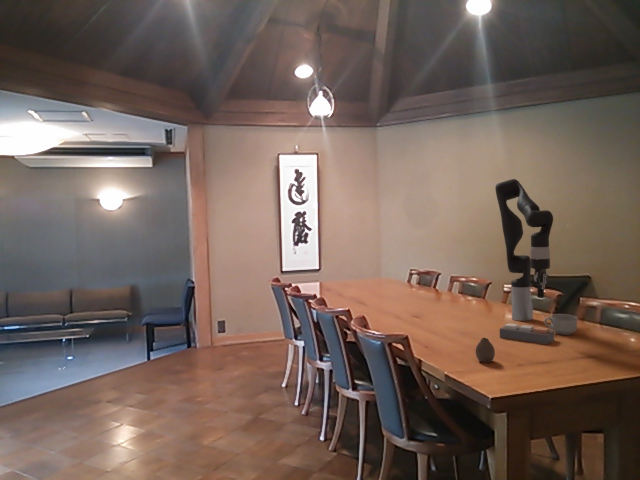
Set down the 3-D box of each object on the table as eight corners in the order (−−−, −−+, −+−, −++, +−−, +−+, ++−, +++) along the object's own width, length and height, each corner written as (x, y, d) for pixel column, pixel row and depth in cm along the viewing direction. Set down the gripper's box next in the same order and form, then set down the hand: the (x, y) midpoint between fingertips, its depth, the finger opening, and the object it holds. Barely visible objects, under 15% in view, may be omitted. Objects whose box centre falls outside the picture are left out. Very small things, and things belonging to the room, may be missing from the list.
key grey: (533, 331, 212) (533, 326, 212) (529, 334, 209) (529, 328, 209) (523, 330, 215) (522, 325, 215) (519, 332, 212) (518, 327, 212)
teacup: (575, 331, 222) (575, 313, 222) (579, 336, 212) (579, 318, 212) (542, 329, 227) (542, 313, 227) (544, 335, 217) (544, 318, 216)
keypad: (554, 340, 208) (554, 331, 208) (547, 344, 202) (547, 335, 202) (507, 333, 222) (507, 325, 222) (499, 337, 216) (499, 328, 216)
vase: (472, 359, 186) (472, 336, 186) (490, 358, 187) (489, 335, 186) (480, 364, 179) (479, 341, 179) (498, 363, 180) (497, 340, 180)
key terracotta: (549, 334, 207) (549, 328, 207) (545, 336, 204) (545, 330, 204) (538, 332, 211) (538, 326, 211) (534, 334, 207) (534, 328, 207)
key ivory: (518, 329, 216) (518, 324, 216) (514, 332, 213) (514, 326, 213) (508, 328, 220) (508, 323, 220) (504, 330, 216) (504, 325, 216)
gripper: (536, 255, 213) (537, 294, 214) (525, 258, 204) (526, 299, 205) (554, 256, 208) (555, 296, 209) (543, 259, 198) (544, 300, 199)
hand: (540, 297), depth 207 cm, fingers closed
